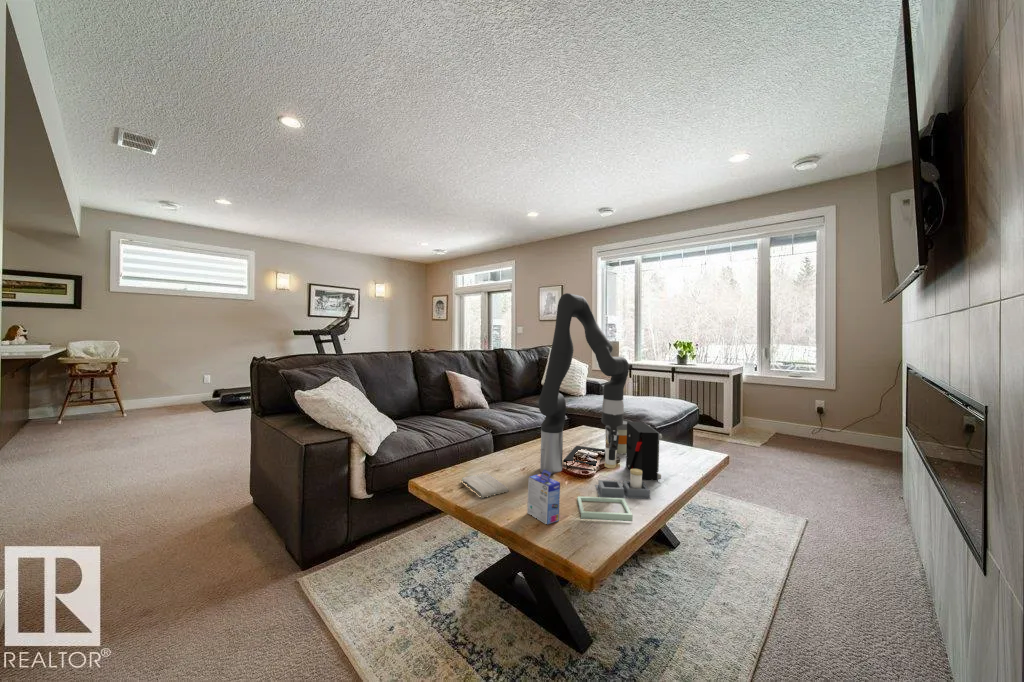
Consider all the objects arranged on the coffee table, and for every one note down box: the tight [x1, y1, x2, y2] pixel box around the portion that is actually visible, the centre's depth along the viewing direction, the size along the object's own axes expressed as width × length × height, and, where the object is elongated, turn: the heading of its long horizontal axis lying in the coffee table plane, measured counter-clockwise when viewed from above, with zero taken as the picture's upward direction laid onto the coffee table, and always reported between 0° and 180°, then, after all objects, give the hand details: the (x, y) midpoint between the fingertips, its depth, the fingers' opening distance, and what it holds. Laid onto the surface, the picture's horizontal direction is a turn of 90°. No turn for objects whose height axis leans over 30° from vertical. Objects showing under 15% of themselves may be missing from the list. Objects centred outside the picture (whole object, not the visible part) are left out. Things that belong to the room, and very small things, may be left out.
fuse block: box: [594, 469, 652, 500], centre depth 140 cm, size 18×11×9 cm, turn 86°
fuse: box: [604, 437, 618, 469], centre depth 140 cm, size 4×4×10 cm
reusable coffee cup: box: [617, 418, 633, 455], centre depth 191 cm, size 13×12×15 cm
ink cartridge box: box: [526, 470, 561, 525], centre depth 122 cm, size 10×6×14 cm, turn 38°
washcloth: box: [460, 472, 509, 499], centre depth 145 cm, size 12×18×3 cm, turn 34°
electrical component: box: [625, 421, 663, 483], centre depth 160 cm, size 18×10×20 cm, turn 179°
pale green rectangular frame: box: [576, 495, 634, 522], centre depth 127 cm, size 16×12×2 cm
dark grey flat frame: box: [562, 445, 605, 466], centre depth 178 cm, size 14×23×3 cm, turn 157°
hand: (610, 457), depth 140 cm, fingers closed on fuse, 4 cm apart
